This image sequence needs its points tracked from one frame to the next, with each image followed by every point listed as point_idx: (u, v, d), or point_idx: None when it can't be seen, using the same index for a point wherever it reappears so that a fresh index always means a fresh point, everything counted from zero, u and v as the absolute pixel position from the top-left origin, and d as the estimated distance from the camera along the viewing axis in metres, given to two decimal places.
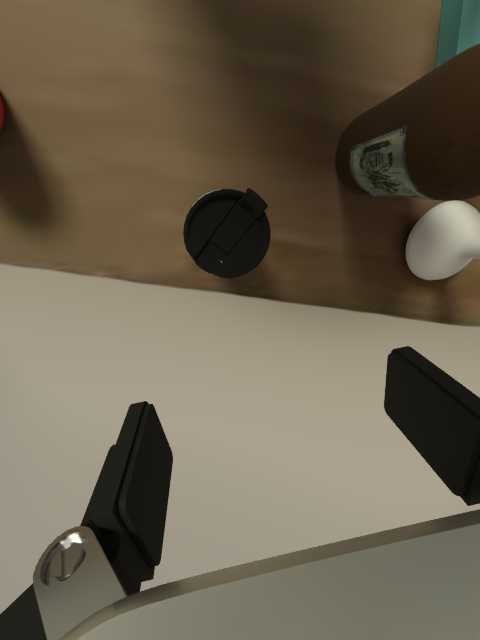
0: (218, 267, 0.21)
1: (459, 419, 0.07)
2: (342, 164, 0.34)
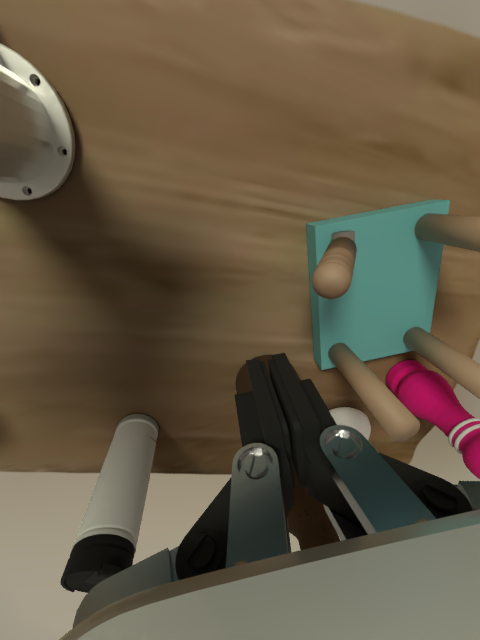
0: None
1: (289, 419, 0.08)
2: None
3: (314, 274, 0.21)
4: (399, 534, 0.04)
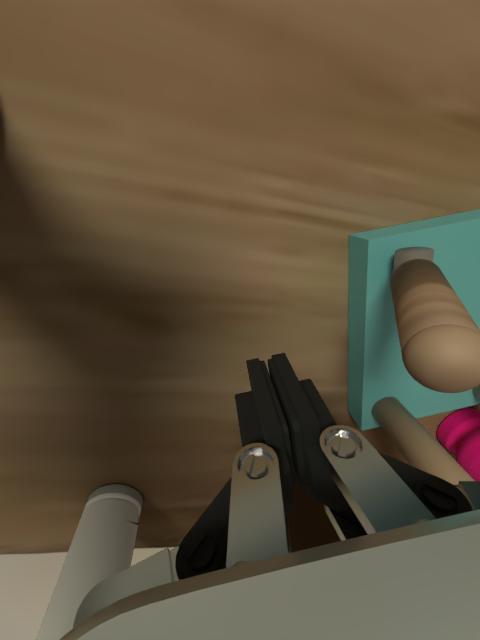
0: None
1: (289, 419, 0.08)
2: None
3: (414, 346, 0.11)
4: (399, 534, 0.04)
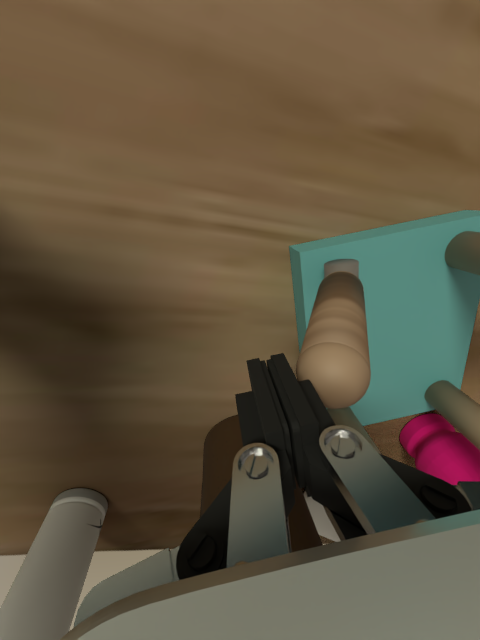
0: None
1: (288, 420, 0.08)
2: None
3: (300, 364, 0.11)
4: (399, 534, 0.04)
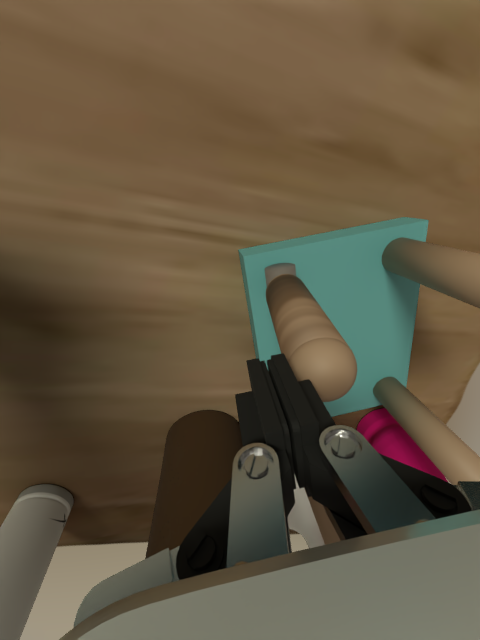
0: None
1: (288, 420, 0.08)
2: None
3: (295, 365, 0.11)
4: (399, 534, 0.04)
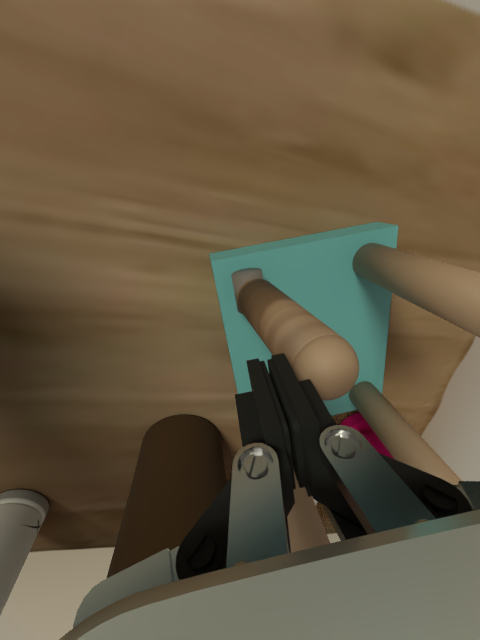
0: None
1: (289, 419, 0.08)
2: None
3: (303, 366, 0.11)
4: (399, 534, 0.04)
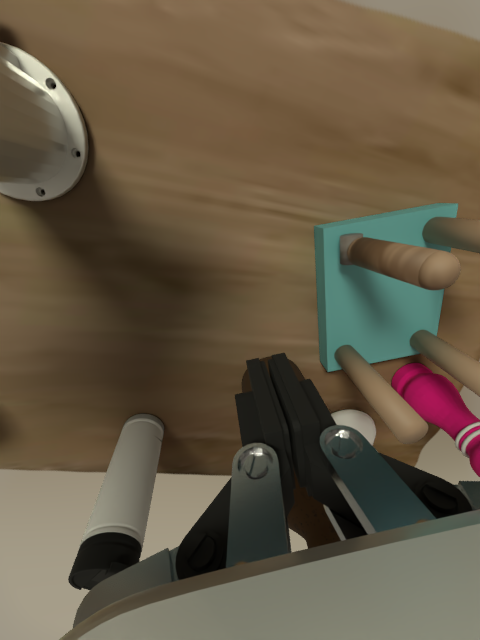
0: None
1: (289, 419, 0.08)
2: None
3: (429, 266, 0.20)
4: (399, 534, 0.04)
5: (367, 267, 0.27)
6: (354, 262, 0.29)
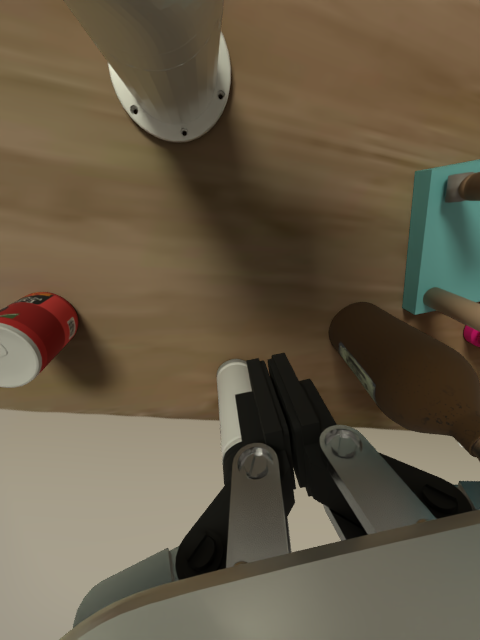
0: None
1: (289, 419, 0.08)
2: (334, 343, 0.44)
3: None
4: (399, 534, 0.04)
5: None
6: (469, 195, 0.31)
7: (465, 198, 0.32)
